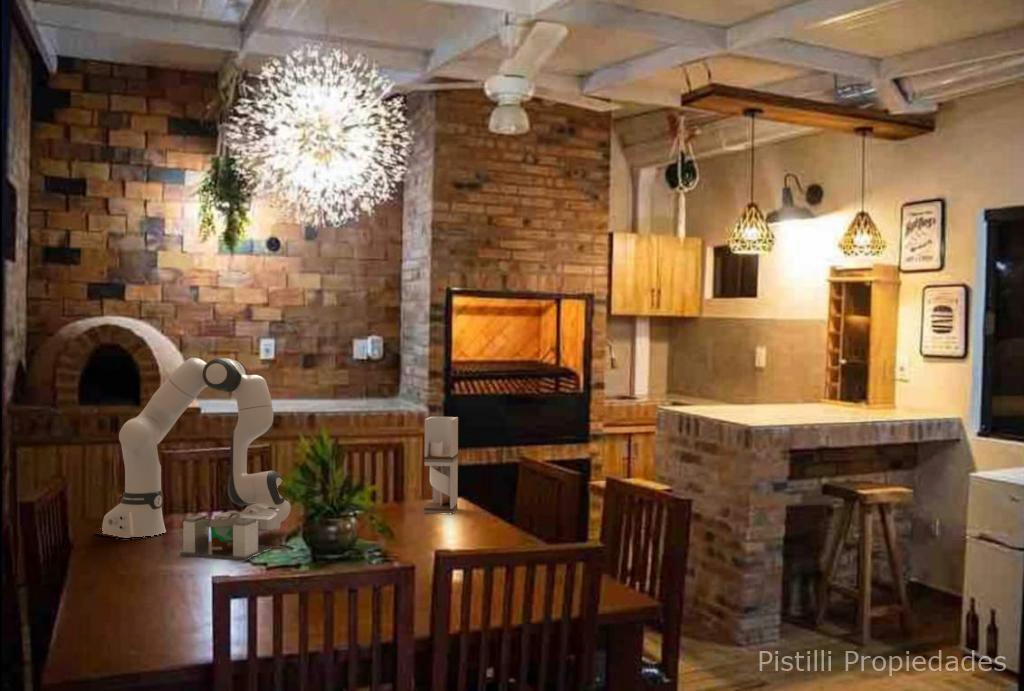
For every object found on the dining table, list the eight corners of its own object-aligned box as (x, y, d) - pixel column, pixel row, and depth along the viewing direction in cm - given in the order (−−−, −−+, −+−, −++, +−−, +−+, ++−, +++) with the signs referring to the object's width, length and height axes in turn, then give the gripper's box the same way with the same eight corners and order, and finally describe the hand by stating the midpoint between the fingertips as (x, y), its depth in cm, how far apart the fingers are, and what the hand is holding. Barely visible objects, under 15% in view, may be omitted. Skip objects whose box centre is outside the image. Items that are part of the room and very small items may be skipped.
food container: (227, 554, 270) (227, 520, 270) (209, 553, 272) (209, 519, 272) (249, 545, 282) (249, 513, 282) (232, 544, 284) (232, 512, 284)
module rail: (180, 555, 273) (180, 519, 273) (209, 544, 287) (209, 510, 287) (245, 561, 267) (245, 524, 267) (272, 549, 281) (272, 514, 281)
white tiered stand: (430, 507, 351) (430, 416, 350) (457, 508, 350) (457, 417, 349) (424, 513, 340) (424, 419, 339) (452, 514, 338) (453, 419, 338)
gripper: (228, 505, 296) (202, 513, 283) (284, 509, 290) (261, 517, 277) (228, 525, 296) (202, 534, 283) (284, 529, 290) (261, 538, 277)
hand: (232, 525), depth 280 cm, fingers open, 8 cm apart
